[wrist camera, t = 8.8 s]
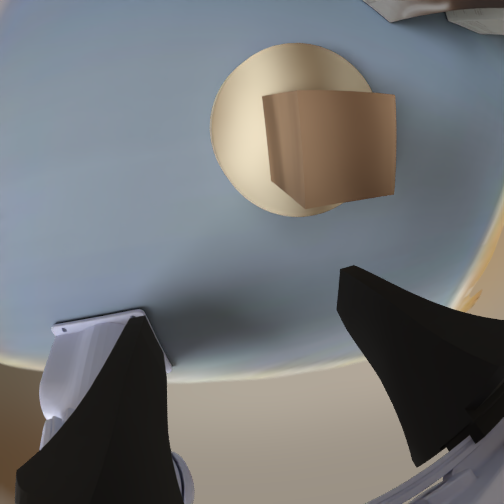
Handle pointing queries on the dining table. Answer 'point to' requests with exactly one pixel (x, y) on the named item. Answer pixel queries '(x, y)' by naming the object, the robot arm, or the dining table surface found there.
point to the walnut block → (331, 145)
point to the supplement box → (479, 19)
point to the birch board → (253, 123)
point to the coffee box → (426, 7)
